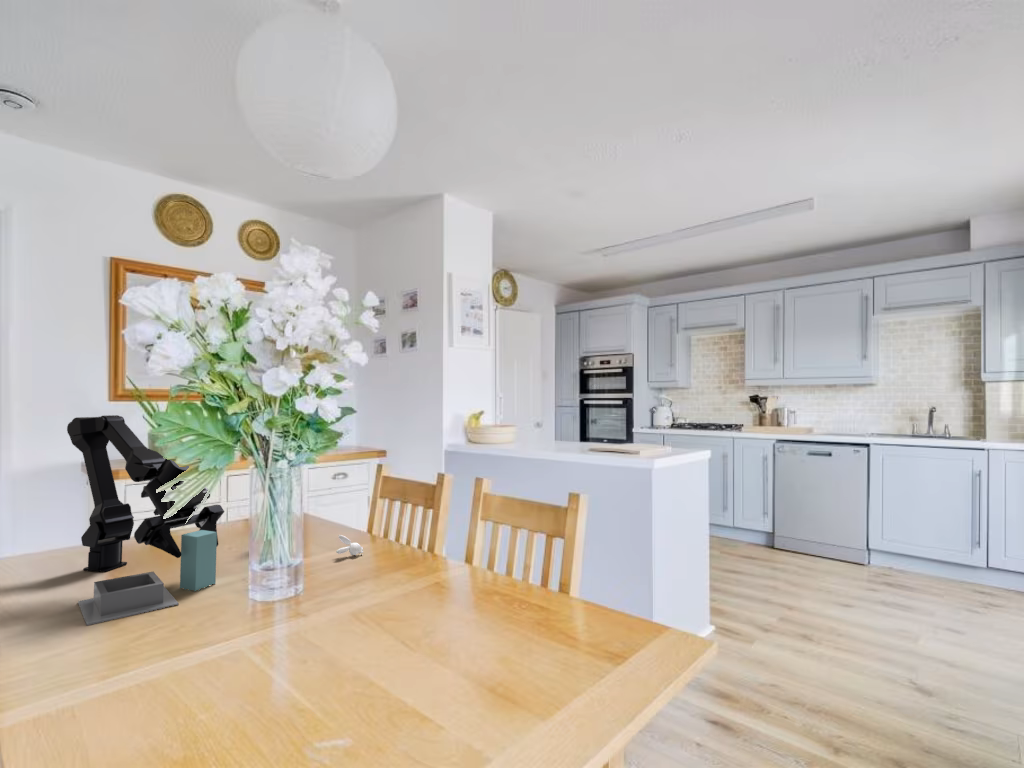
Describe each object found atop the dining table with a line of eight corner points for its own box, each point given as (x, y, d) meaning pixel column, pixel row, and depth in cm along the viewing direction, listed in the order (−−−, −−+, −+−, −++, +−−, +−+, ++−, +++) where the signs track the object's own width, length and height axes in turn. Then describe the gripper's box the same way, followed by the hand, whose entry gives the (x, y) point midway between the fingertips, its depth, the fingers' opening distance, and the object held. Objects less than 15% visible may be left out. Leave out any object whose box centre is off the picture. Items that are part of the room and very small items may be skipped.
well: (78, 603, 111) (78, 581, 112) (162, 586, 122) (163, 566, 122) (86, 625, 101) (87, 601, 101) (178, 605, 111) (179, 583, 111)
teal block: (179, 588, 121) (181, 534, 121) (200, 581, 125) (201, 529, 126) (195, 591, 119) (197, 537, 119) (215, 584, 124) (216, 532, 124)
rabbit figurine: (365, 558, 145) (338, 548, 142) (357, 567, 147) (330, 557, 143) (367, 541, 150) (341, 531, 147) (359, 550, 152) (334, 540, 148)
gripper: (144, 481, 116) (177, 538, 112) (219, 471, 134) (251, 520, 129) (119, 515, 119) (151, 571, 115) (196, 501, 136) (227, 549, 132)
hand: (198, 551), depth 122 cm, fingers open, 9 cm apart
